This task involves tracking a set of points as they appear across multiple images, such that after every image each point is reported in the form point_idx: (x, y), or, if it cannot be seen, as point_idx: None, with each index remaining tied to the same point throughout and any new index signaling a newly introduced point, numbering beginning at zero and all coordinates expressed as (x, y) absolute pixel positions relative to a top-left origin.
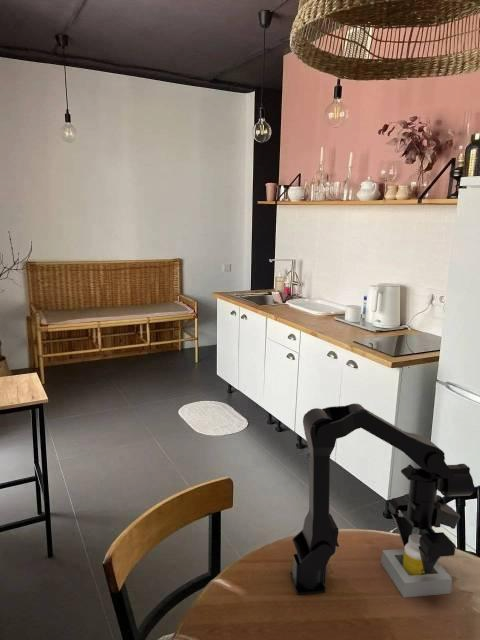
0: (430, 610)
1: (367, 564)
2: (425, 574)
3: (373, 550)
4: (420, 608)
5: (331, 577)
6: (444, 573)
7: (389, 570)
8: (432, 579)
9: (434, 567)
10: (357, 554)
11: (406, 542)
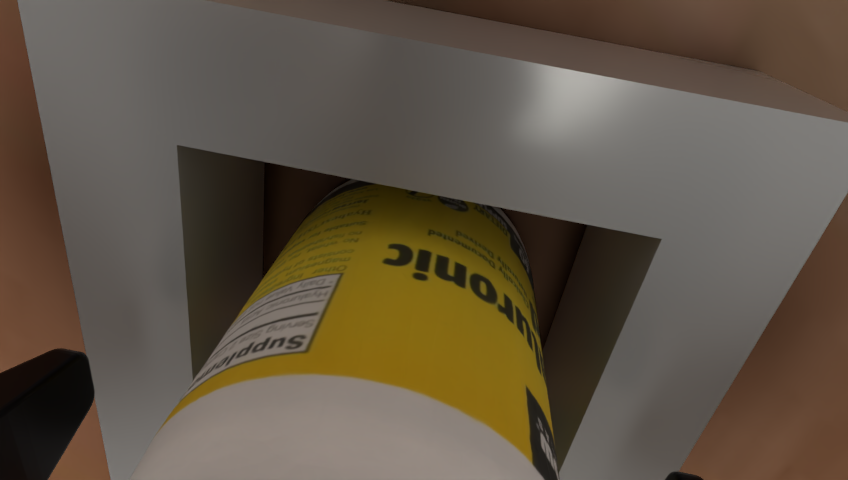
0: (785, 396)
1: None
2: (537, 323)
3: (19, 349)
4: (722, 440)
5: None
6: (715, 157)
7: None
8: (702, 383)
9: (530, 203)
10: (79, 464)
11: (41, 441)
